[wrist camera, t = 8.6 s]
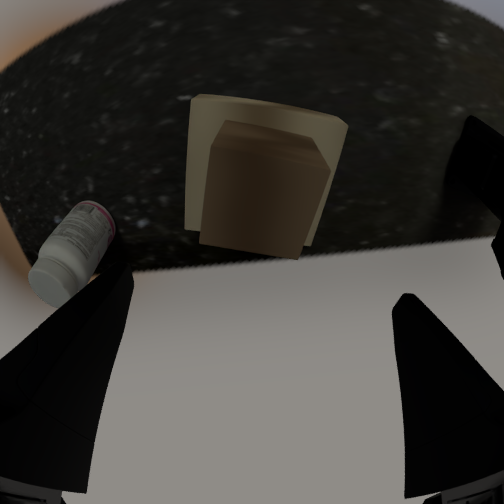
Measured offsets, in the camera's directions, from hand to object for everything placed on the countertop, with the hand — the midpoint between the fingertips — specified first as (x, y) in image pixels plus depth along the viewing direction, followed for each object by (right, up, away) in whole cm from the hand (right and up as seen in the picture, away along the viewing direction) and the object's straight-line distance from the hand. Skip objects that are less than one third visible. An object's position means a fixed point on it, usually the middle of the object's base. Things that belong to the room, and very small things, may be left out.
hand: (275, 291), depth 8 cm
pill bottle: (-15, +4, +14) cm, 20 cm away
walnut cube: (0, +6, +8) cm, 10 cm away
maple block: (0, +8, +11) cm, 13 cm away
